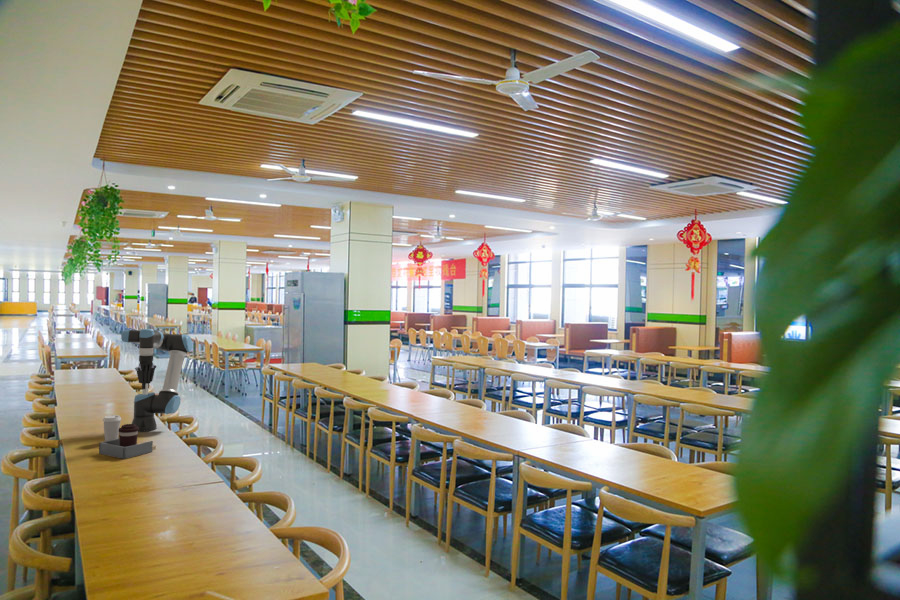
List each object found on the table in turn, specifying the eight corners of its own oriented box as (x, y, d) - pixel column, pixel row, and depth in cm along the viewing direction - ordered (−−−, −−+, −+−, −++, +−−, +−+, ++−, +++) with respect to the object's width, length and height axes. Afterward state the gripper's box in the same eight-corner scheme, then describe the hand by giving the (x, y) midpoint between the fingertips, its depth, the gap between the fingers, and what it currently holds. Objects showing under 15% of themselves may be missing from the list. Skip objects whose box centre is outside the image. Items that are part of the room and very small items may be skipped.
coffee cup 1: (114, 444, 333) (115, 418, 333) (98, 443, 333) (99, 417, 333) (124, 440, 342) (125, 415, 342) (108, 439, 342) (109, 414, 342)
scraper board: (141, 447, 331) (141, 442, 331) (155, 450, 326) (155, 445, 326) (128, 450, 324) (128, 445, 324) (142, 453, 319) (142, 448, 319)
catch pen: (127, 446, 329) (128, 436, 329) (152, 451, 320) (152, 441, 320) (99, 453, 313) (99, 442, 313) (123, 459, 305) (124, 447, 305)
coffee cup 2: (142, 450, 322) (143, 423, 322) (129, 455, 312) (130, 427, 312) (126, 449, 324) (127, 422, 324) (113, 453, 314) (114, 426, 314)
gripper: (151, 353, 349) (150, 391, 350) (132, 355, 337) (131, 395, 338) (160, 354, 346) (159, 393, 347) (141, 356, 334) (140, 396, 335)
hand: (145, 394), depth 343 cm, fingers closed
